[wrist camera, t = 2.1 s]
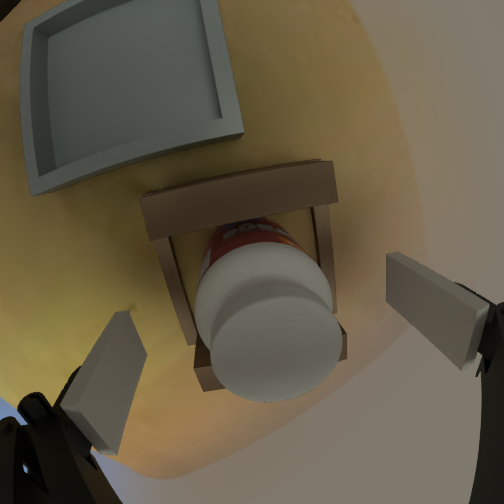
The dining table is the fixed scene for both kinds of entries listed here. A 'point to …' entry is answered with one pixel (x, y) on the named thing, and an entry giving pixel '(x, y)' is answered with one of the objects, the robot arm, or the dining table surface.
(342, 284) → the dining table surface
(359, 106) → the dining table surface
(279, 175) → the wooden open frame
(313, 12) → the dining table surface
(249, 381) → the pill bottle
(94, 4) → the tray
